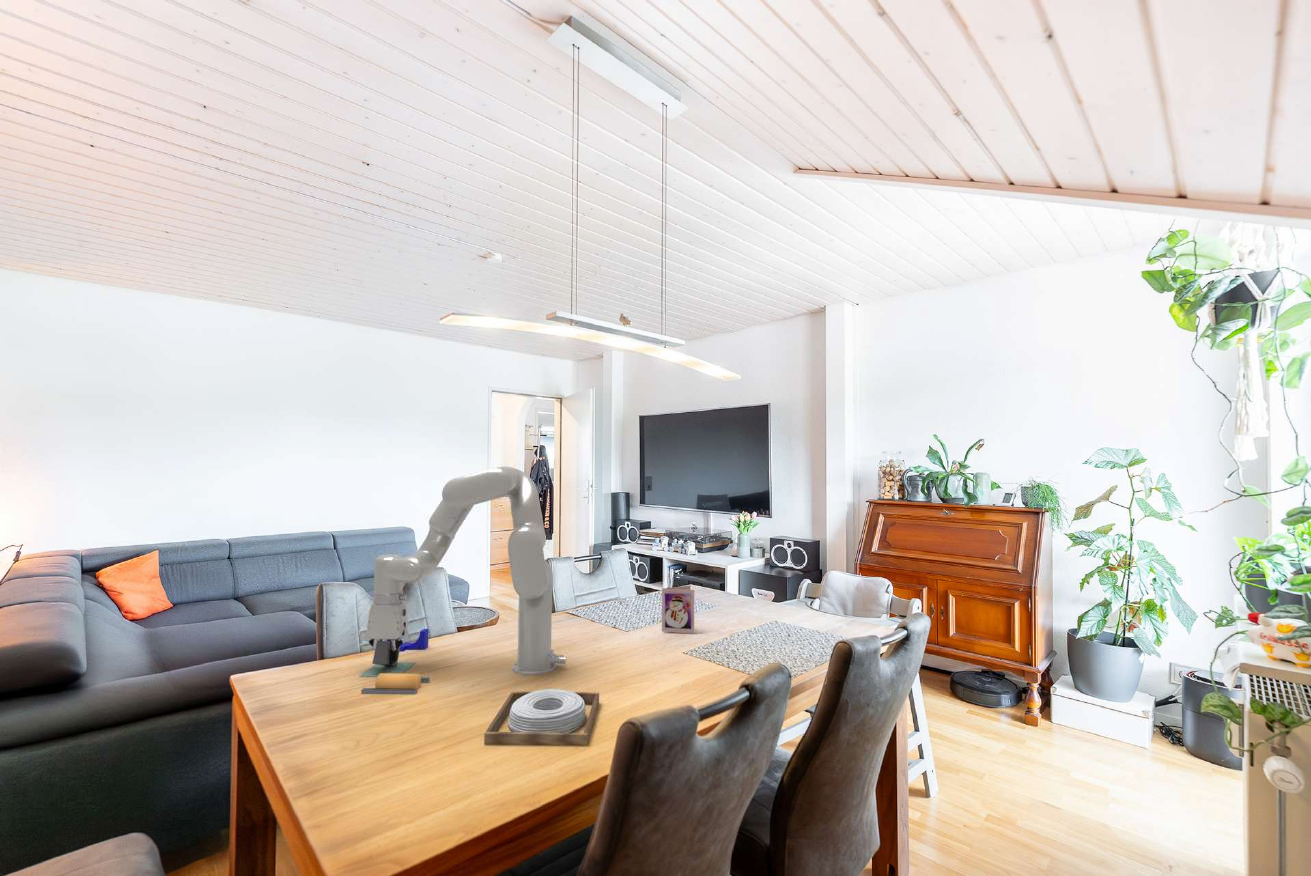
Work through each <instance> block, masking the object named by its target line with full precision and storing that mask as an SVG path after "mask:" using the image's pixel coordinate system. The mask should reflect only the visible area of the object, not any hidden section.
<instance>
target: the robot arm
mask: <svg viewBox="0 0 1311 876" xmlns="http://www.w3.org/2000/svg"><path fill="white" fill-rule="evenodd" d="M441 497H442V499H441V500H440V503H439V504H438V505H437V507H436V509H435V510H434V512H433V513H432V514H431V516H430V518H429V520H428V524H429V530H428V532H427V535H426V537H425V539H424V541H423V542H422V544H421V545H420V547H419V548H418V550H417V552H415V553H413V554H412V555H409V556H406V557H403V556H402V555H400V554H396V553H395V554H394V553H393V554H388V553H387V554H382V555H379V556H377V557H376V558H375V561H374V571H373V572H374V575H373V576H374V578H373V581H374V583H373V602H372V603H371V604H370V608H369V612H368V618H367V626H366V632H365V633H364V635H363V637H362V639H363V640H364V641H365V642H367V643H368V644H369V645H370V646H371V647H372V650H373V651H375V649H376V644H377V641H387V640H391V651H390V665H392V664H394V663H395V662H396V661H397V659H398V660H399V657H398V648H399V647H400V646H401V645H402V644H403V643H405V642H407V643H408V641H410V640H411V639H412V637H411V635H410V633H409V632H408V631H409V622H408V619H409V618H408V610H407V605H406V601H404V600H407V598H408V595H407V594H404V591H403V589H404V588H403V586H404V584H405V583H406V584H415V583H419V582H420V581H422V580H424V579H425V578H427V577H428V576H429V575H431V574H432V573H433V572H434V571H435V570H436V569H437V568H438V566H439V564H440V563H441V561H442V560H443V558H444V556H445V555H446V553H447V552H448V550H449V549H450V546H451V544H452V542H453V541H454V539H455V536H456V534H457V533H458V531H459V529H460V528H461V526H462V524H463V523H464V522H465V520H466V519H467V517H468V515H469V514H470V513H471V511H472V509H473V508H474V506H475V505H479V504H481V503H482V504H483V503H486V502H489V501H493V500H497V499H501V498H504V497H508V498H509V501H510V513H511V518H512V527H513V531H512V532H511V533H510V535H509V537H508V540H507V554H508V560H509V567H510V573H511V580H512V587H513V588H514V591H515V593H516V594H517V595H518V612H517V613H518V616H517V618H518V620H517V622H518V623H517V625H518V627H517V660H516V661H515V662H513V664H512V668H511V669H512V672H513V673H514V674H518V675H521V676H522V675H523V676H538V675H545V674H548V673H550V672H553V671H554V670H555V669H557V664H559V665H561V664H563V665H565V664H567V656H564V654H556V653H555V649H552V625H553V623H552V619H553V618H552V615H553V605H552V604H553V589H554V588H553V587H554V575H553V572H554V571H553V570H552V569H553V568H552V566H551V565H550V563H549V562H548V561H546V560H545V553H544V552H545V551H544V547H545V545H546V541H547V540H546V539H547V537H546V536H547V535H546V532H545V525H544V520H543V514H542V509H541V502H540V496H539V492H538V489H537V486H536V484H535V482H534V481H533V479H532V478H531V477H530V475H528V474H527V473H526V472H524V471H523V470H520V469H518V468H515V467H510V466H498V467H493V468H488V469H486V470H482V471H479V472H475V473H471V474H468V475H464V476H459V477H455V478H451V479H450V480H449V481H446V483H445V485H444V486H443V488H442V491H441ZM403 583H404V584H403ZM400 639H401V640H400Z"/></svg>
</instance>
